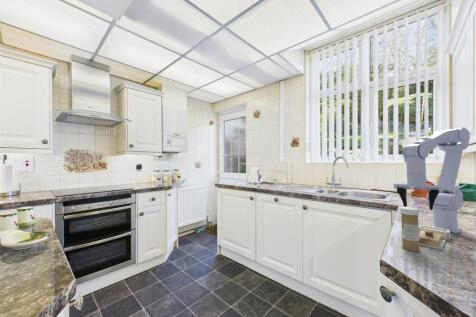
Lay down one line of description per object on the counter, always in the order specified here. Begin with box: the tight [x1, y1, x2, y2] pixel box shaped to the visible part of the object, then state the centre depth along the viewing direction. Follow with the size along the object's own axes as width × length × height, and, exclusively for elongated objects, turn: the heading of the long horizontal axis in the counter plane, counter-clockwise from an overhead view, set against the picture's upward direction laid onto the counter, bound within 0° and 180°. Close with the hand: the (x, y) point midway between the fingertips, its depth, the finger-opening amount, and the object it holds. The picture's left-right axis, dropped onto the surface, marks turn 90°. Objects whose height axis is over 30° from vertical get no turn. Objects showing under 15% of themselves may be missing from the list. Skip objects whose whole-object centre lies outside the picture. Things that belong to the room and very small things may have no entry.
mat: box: [419, 240, 447, 251], centre depth 70 cm, size 11×7×1 cm, turn 129°
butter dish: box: [419, 224, 451, 242], centre depth 76 cm, size 5×9×3 cm, turn 39°
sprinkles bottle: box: [399, 206, 421, 252], centre depth 65 cm, size 5×5×14 cm
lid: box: [419, 231, 442, 247], centre depth 70 cm, size 5×9×3 cm, turn 130°
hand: (417, 207), depth 79 cm, fingers open, 7 cm apart
